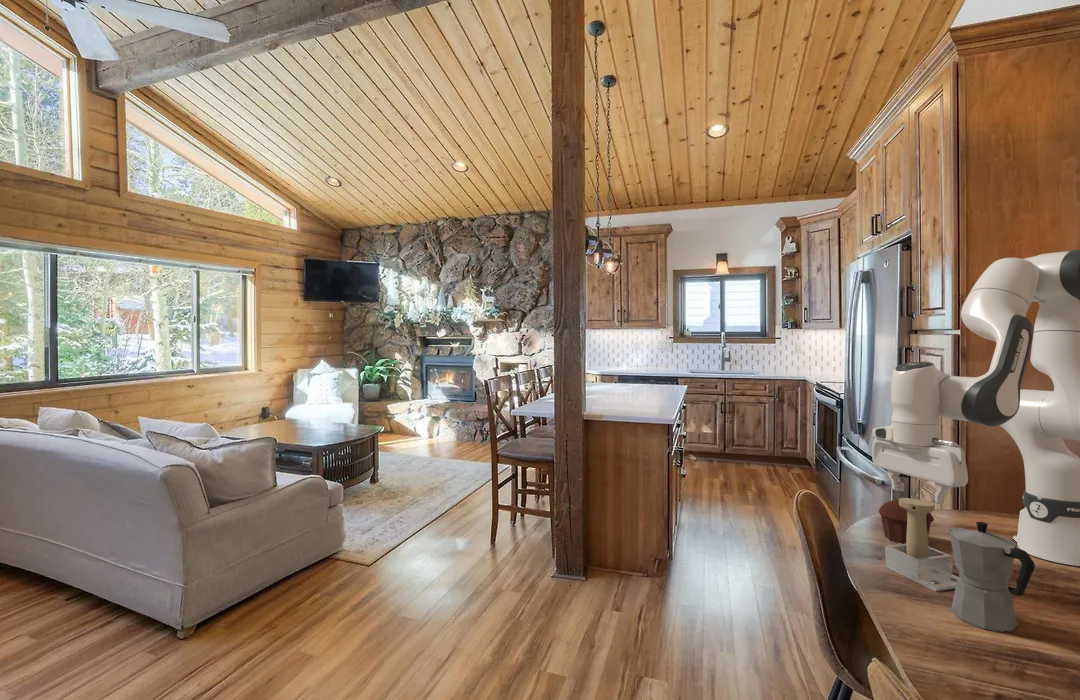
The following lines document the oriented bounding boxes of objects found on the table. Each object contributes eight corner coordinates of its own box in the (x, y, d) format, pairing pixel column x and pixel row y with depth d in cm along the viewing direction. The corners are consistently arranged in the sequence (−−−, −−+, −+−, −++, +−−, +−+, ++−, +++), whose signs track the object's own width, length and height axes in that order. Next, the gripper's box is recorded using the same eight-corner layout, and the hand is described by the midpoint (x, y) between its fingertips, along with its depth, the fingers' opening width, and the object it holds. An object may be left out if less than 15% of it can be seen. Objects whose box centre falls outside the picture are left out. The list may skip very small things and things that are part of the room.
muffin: (873, 539, 131) (873, 501, 131) (884, 528, 139) (883, 492, 139) (930, 552, 122) (930, 511, 122) (938, 539, 130) (937, 501, 130)
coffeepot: (929, 602, 99) (927, 511, 99) (972, 599, 100) (971, 509, 100) (1009, 649, 84) (1007, 541, 84) (1059, 644, 85) (1057, 538, 85)
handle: (933, 577, 108) (932, 507, 108) (897, 567, 113) (896, 501, 113) (938, 569, 111) (936, 502, 111) (903, 561, 116) (901, 496, 116)
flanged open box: (918, 562, 117) (917, 542, 117) (971, 586, 105) (971, 563, 105) (885, 566, 115) (885, 545, 115) (935, 591, 103) (935, 568, 103)
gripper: (975, 442, 102) (977, 509, 102) (888, 427, 122) (889, 483, 123) (950, 444, 101) (951, 512, 101) (866, 428, 121) (867, 485, 121)
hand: (917, 496), depth 112 cm, fingers open, 8 cm apart
